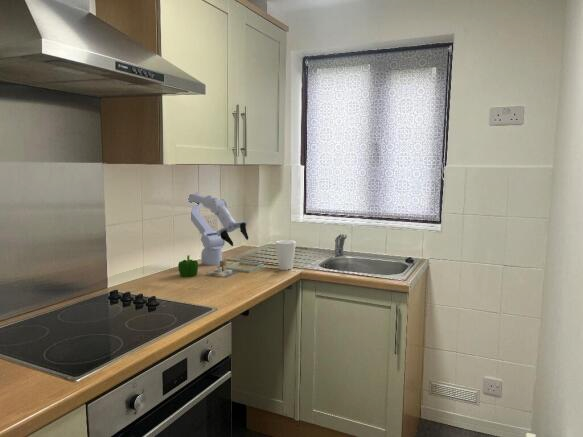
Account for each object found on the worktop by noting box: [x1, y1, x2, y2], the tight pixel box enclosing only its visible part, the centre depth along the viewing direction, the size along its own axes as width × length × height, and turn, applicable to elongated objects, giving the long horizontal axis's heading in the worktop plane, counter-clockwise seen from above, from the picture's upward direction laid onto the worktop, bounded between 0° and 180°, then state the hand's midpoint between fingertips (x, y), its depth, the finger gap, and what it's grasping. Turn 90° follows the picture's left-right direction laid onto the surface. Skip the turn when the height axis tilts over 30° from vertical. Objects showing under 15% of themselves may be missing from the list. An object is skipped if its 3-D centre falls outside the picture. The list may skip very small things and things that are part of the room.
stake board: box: [204, 266, 240, 279], centre depth 198 cm, size 11×11×4 cm
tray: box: [226, 261, 265, 273], centre depth 210 cm, size 14×14×2 cm
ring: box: [206, 259, 232, 278], centre depth 198 cm, size 8×8×5 cm
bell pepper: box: [178, 255, 199, 278], centre depth 195 cm, size 8×8×10 cm
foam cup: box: [275, 239, 297, 271], centre depth 213 cm, size 10×9×13 cm
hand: (240, 241), depth 202 cm, fingers open, 7 cm apart
